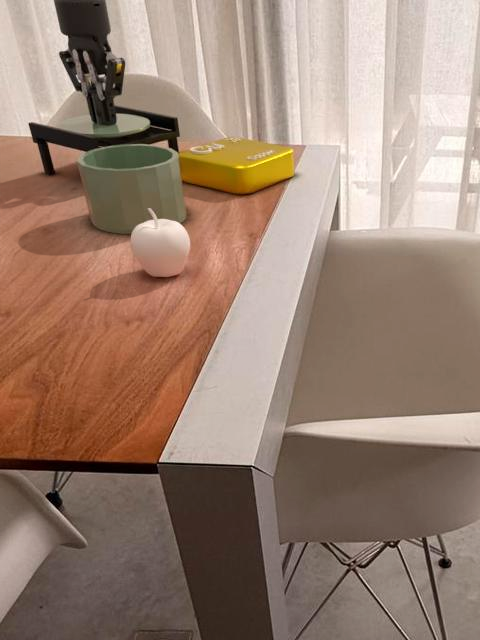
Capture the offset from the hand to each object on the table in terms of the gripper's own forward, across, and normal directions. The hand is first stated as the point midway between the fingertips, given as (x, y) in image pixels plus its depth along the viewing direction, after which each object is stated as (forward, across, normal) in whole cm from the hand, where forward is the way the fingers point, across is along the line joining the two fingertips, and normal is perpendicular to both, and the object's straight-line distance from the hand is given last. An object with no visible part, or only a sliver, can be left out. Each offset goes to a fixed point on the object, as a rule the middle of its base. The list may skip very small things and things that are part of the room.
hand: (104, 122), depth 115 cm
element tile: (+8, +20, +10) cm, 24 cm away
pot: (+8, +22, -14) cm, 27 cm away
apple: (+8, +40, -26) cm, 48 cm away
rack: (+8, 0, 0) cm, 8 cm away
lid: (+1, 0, 0) cm, 1 cm away
